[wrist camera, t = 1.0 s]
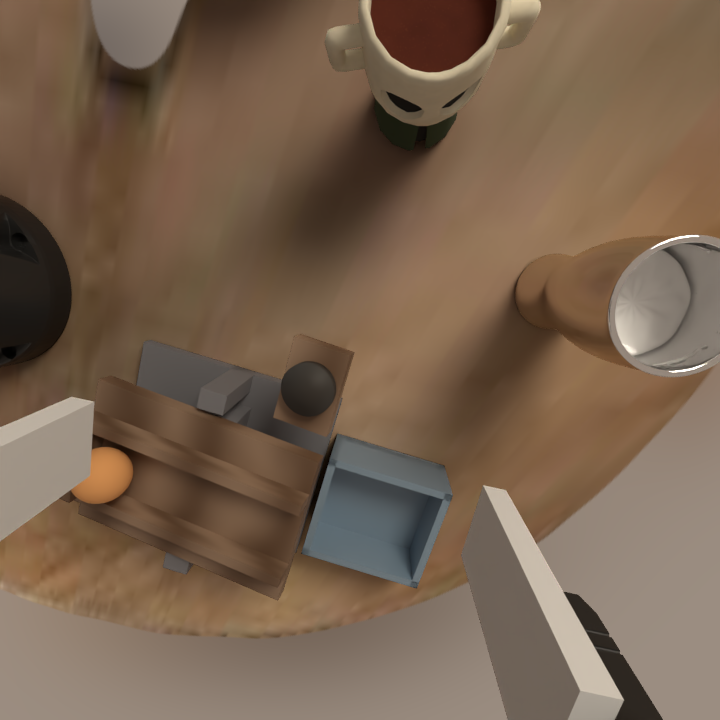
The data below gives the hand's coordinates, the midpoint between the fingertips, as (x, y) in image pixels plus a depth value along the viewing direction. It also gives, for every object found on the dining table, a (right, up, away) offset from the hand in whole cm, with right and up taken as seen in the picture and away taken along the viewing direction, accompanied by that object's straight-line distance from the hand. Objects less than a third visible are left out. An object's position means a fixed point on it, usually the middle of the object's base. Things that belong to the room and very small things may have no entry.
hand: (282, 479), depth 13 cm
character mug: (+7, +23, +18) cm, 30 cm away
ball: (-16, -4, +16) cm, 23 cm away
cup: (+4, -9, +25) cm, 26 cm away
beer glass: (+18, +10, +20) cm, 29 cm away
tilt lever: (-9, -2, +19) cm, 21 cm away
